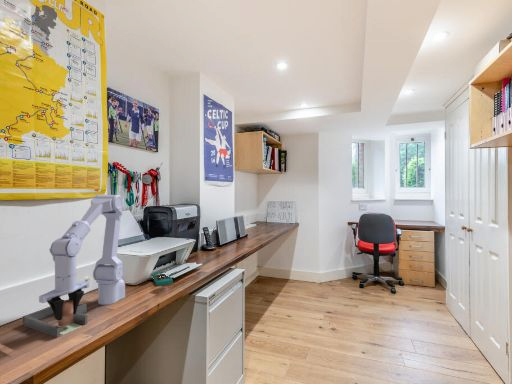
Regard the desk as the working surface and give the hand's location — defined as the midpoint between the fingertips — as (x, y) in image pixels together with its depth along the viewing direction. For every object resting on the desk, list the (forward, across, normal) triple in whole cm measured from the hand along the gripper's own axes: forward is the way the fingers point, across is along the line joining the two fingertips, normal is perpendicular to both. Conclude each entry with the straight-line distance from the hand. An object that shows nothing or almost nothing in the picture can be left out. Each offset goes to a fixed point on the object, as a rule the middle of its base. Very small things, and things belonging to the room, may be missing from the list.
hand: (66, 316), depth 90 cm
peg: (+2, 0, 0) cm, 2 cm away
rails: (+4, -3, -6) cm, 7 cm away
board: (+5, -3, -4) cm, 7 cm away
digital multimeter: (+6, -51, -7) cm, 51 cm away
